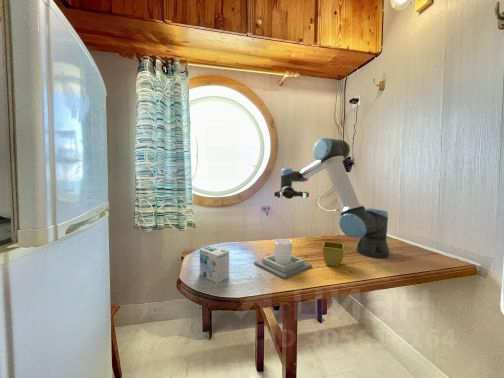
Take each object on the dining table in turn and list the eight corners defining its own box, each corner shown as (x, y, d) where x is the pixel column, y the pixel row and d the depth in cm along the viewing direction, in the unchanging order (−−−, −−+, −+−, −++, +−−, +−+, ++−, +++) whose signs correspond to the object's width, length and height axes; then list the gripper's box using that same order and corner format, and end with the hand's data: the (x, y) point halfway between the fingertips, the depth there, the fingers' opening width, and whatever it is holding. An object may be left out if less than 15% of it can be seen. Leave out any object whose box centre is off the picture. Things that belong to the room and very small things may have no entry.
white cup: (291, 267, 96) (291, 244, 95) (272, 266, 98) (273, 243, 97) (291, 260, 104) (292, 239, 103) (274, 259, 105) (275, 238, 104)
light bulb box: (199, 275, 91) (198, 248, 90) (212, 269, 96) (211, 244, 95) (216, 283, 84) (216, 255, 83) (229, 277, 89) (229, 250, 88)
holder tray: (311, 266, 99) (312, 260, 99) (284, 279, 88) (284, 271, 88) (281, 254, 113) (281, 249, 113) (254, 264, 102) (254, 257, 102)
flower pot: (321, 266, 100) (322, 246, 100) (323, 259, 108) (323, 240, 108) (342, 269, 97) (343, 249, 96) (342, 262, 105) (343, 243, 104)
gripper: (307, 198, 147) (316, 203, 126) (268, 197, 148) (271, 202, 126) (307, 186, 147) (316, 189, 126) (269, 186, 147) (271, 189, 126)
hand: (293, 196), depth 126 cm, fingers open, 13 cm apart
